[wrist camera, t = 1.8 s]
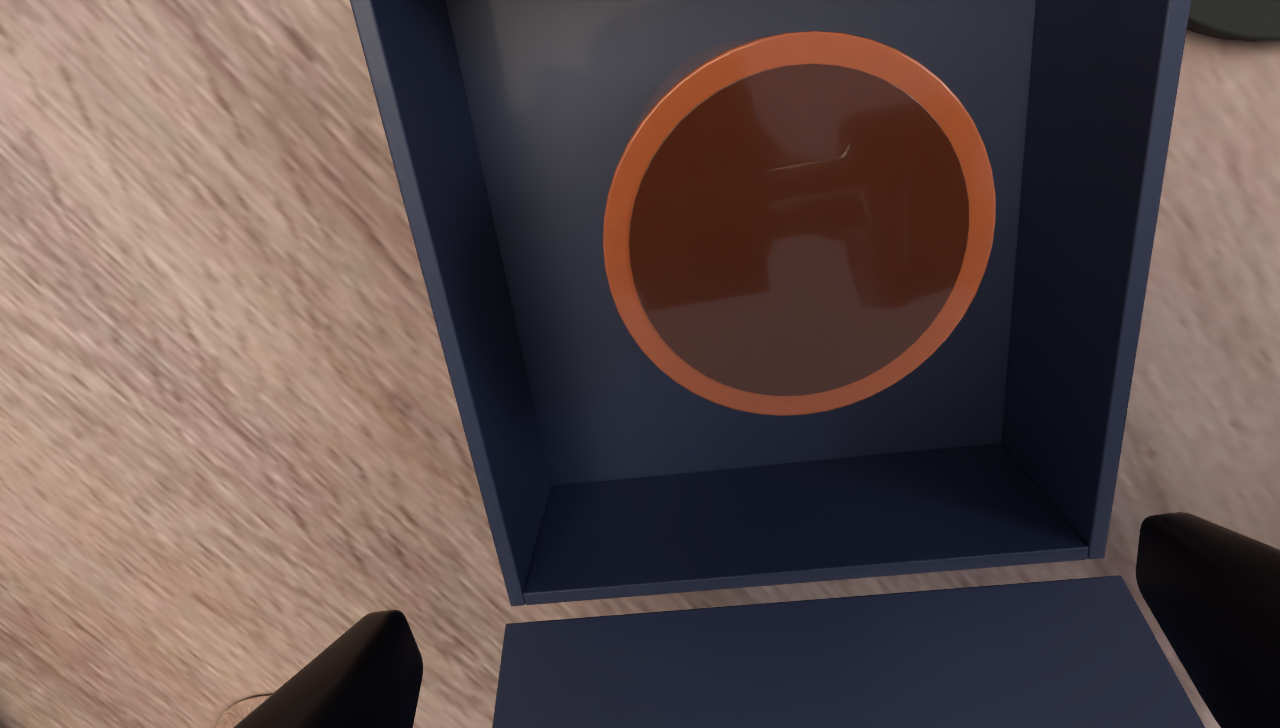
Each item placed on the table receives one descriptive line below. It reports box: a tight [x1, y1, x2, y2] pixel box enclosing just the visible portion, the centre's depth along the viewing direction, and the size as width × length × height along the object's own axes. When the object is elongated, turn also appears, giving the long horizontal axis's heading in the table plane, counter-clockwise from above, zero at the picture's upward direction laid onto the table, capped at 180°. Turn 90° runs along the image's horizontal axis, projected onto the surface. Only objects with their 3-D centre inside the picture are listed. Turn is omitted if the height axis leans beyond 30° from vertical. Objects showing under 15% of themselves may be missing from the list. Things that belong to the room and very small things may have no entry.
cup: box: [603, 31, 996, 416], centre depth 15 cm, size 6×6×8 cm
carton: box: [350, 0, 1191, 606], centre depth 17 cm, size 16×15×5 cm
